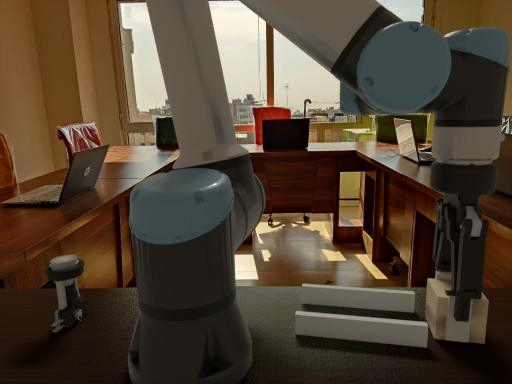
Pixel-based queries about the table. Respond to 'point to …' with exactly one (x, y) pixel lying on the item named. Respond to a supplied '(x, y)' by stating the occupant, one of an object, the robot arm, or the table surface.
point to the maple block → (438, 311)
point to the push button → (67, 289)
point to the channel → (356, 325)
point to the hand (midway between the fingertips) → (449, 325)
